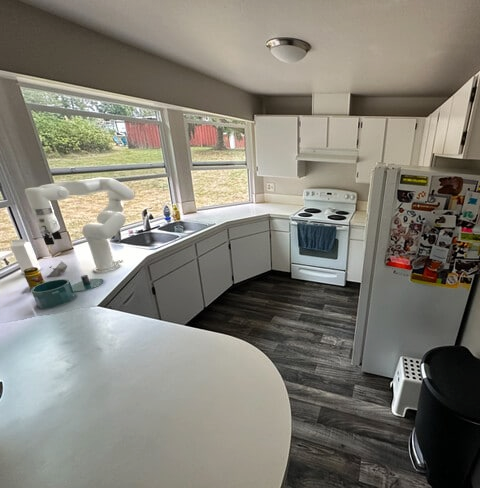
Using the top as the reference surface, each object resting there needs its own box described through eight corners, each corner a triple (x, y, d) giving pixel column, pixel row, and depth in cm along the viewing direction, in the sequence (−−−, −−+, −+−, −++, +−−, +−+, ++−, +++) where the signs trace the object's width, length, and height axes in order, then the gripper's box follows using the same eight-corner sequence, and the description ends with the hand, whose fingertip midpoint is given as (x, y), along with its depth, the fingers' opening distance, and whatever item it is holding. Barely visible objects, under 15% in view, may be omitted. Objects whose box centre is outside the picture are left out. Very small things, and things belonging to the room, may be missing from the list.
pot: (70, 290, 141) (64, 275, 138) (79, 301, 131) (73, 286, 128) (34, 300, 131) (27, 285, 128) (42, 314, 121) (34, 297, 117)
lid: (99, 277, 156) (96, 268, 153) (107, 284, 148) (104, 275, 145) (67, 287, 144) (63, 276, 142) (74, 295, 136) (70, 284, 134)
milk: (35, 272, 159) (22, 240, 152) (22, 274, 157) (8, 241, 149) (41, 268, 164) (28, 237, 157) (28, 270, 162) (14, 238, 154)
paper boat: (54, 277, 153) (37, 273, 151) (60, 281, 158) (44, 278, 157) (69, 260, 160) (53, 257, 159) (74, 265, 165) (59, 262, 164)
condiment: (44, 288, 142) (36, 270, 138) (23, 293, 137) (14, 273, 133) (48, 283, 148) (41, 265, 143) (28, 287, 143) (19, 268, 139)
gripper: (45, 214, 126) (57, 245, 132) (59, 207, 141) (69, 236, 147) (24, 215, 123) (37, 247, 129) (41, 208, 137) (51, 238, 143)
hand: (54, 241), depth 138 cm, fingers open, 9 cm apart
